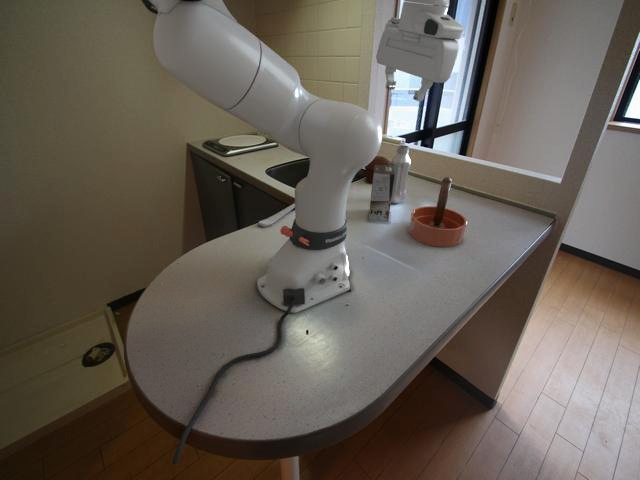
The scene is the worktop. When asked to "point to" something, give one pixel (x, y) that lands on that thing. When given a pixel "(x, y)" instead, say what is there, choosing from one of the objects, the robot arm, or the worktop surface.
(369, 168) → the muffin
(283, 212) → the spoon
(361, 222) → the worktop surface
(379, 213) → the coffee box
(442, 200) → the stirring stick
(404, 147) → the plastic bottle
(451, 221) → the bowl
